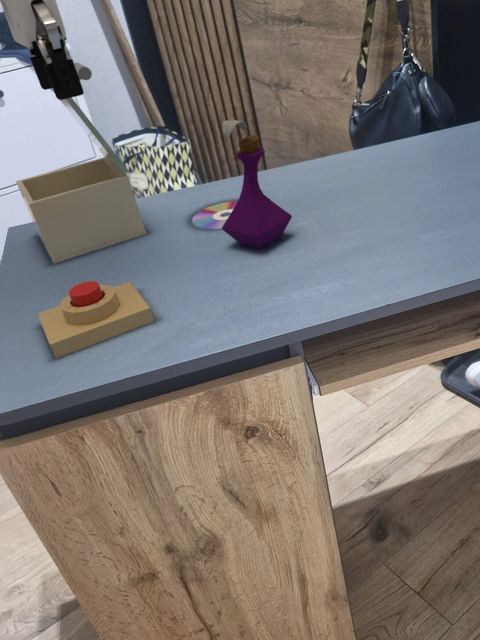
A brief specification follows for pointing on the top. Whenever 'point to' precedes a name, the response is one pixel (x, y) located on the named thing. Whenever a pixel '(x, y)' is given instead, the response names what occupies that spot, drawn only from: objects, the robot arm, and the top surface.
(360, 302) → the top surface
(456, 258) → the top surface
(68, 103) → the lid
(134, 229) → the compartment
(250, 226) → the perfume bottle
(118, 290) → the control block
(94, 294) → the button
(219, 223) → the cd
